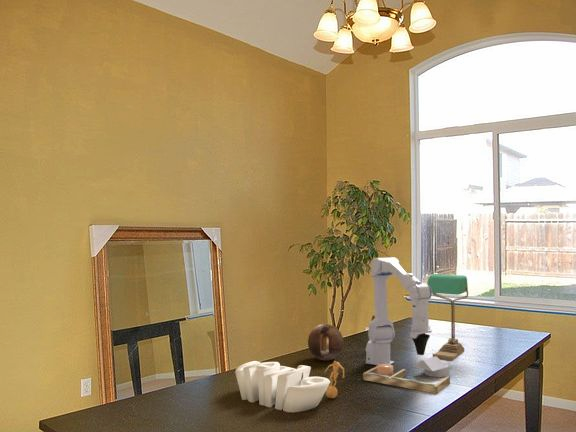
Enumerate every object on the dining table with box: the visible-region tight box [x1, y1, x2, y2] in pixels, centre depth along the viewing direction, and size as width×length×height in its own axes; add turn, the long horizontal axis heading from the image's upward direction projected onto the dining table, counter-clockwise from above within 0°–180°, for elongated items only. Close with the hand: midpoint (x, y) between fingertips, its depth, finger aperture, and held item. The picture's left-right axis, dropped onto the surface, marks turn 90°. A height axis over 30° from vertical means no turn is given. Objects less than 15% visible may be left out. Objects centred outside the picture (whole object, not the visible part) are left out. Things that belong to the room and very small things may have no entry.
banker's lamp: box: [426, 273, 469, 362], centre depth 234 cm, size 16×21×35 cm
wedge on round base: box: [413, 356, 450, 378], centre depth 204 cm, size 9×7×13 cm
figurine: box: [324, 360, 345, 399], centre depth 177 cm, size 8×6×12 cm
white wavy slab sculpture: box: [234, 360, 331, 413], centre depth 176 cm, size 35×16×11 cm, turn 50°
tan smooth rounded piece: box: [376, 364, 394, 377], centre depth 200 cm, size 6×6×4 cm
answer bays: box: [362, 365, 451, 394], centre depth 195 cm, size 28×14×3 cm, turn 55°
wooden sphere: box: [307, 323, 344, 362], centre depth 226 cm, size 15×15×15 cm
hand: (420, 354), depth 194 cm, fingers closed
